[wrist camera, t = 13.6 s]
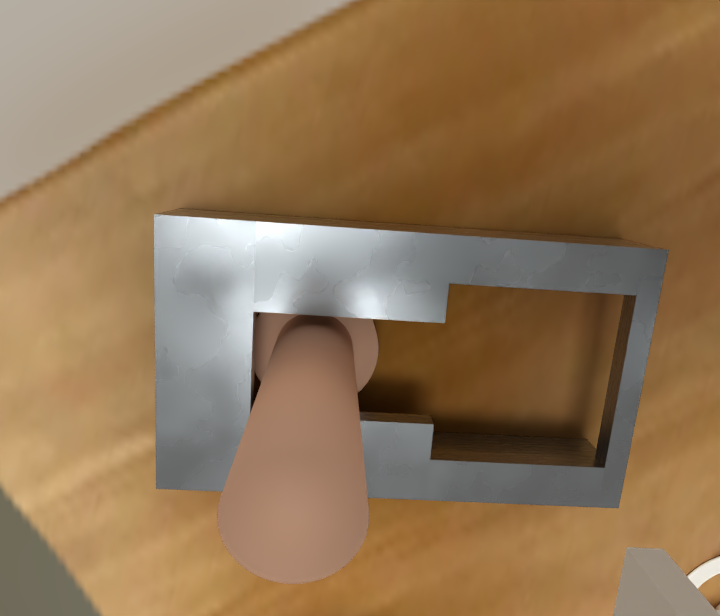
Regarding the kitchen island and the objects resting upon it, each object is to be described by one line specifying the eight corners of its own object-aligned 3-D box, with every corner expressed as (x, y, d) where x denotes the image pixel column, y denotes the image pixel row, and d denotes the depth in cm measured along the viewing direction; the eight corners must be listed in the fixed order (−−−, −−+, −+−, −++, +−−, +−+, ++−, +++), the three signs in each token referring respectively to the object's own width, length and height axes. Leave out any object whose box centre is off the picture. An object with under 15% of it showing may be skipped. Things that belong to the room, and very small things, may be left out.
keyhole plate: (621, 239, 28) (668, 249, 24) (582, 465, 30) (618, 508, 27) (180, 208, 27) (153, 214, 23) (180, 446, 29) (156, 488, 25)
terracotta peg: (381, 284, 28) (431, 407, 13) (371, 400, 29) (407, 629, 15) (256, 276, 27) (165, 393, 13) (252, 394, 29) (166, 621, 14)
